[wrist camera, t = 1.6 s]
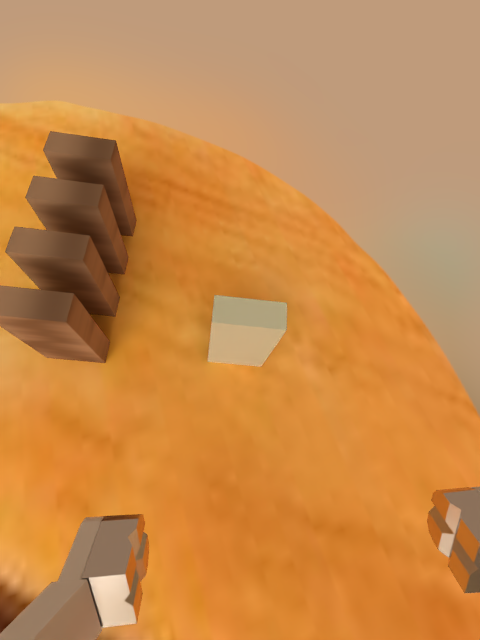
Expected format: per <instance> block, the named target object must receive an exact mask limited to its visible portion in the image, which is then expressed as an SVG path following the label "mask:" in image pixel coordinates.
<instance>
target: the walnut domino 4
mask: <svg viewBox="0 0 480 640" xmlns="http://www.w3.org/2000/svg"><path fill="white" fill-rule="evenodd" d="M0 326H1V327H2V328H4V329H5V330H7V331H8V332H10V333H11V334H13V335H14V336H16V337H17V338H18V339H20V340H21V341H23V342H24V343H26V344H27V345H29V346H30V347H32V348H33V349H35V350H36V351H38V352H39V353H41V354H42V355H44V356H45V357H47V358H56V359H67V360H78V361H89V362H100V363H105V362H106V357H107V353H108V348H109V343H110V341H109V340H108V338H107V337H106V336H105V334H104V333H103V332H102V330H101V329H100V328H99V326H98V325H97V324H96V322H95V321H94V320H93V318H92V317H91V316H90V314H89V313H88V312H87V310H86V309H85V308H84V306H83V305H82V304H81V302H80V301H79V300H78V298H77V297H76V295H75V294H74V293H65V292H56V291H46V290H37V289H28V288H18V287H9V286H0Z"/></svg>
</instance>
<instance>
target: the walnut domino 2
mask: <svg viewBox="0 0 480 640" xmlns="http://www.w3.org/2000/svg"><path fill="white" fill-rule="evenodd" d="M26 199H27V201H28V202H29V204H30V205H31V207H32V208H33V210H34V211H35V213H36V214H37V216H38V217H39V219H40V220H41V222H42V223H43V225H44V226H45V228H46V229H47V230H48V231H56V232H64V233H73V234H81V235H89V236H90V237H91V239H92V241H93V243H94V245H95V247H96V249H97V251H98V253H99V256H100V258H101V260H102V262H103V264H104V266H105V268H106V270H107V272H108V273H117V274H125V270H126V265H127V261H128V255H127V252H126V249H125V246H124V243H123V240H122V237H121V234H120V231H119V228H118V225H117V222H116V220H115V217H114V214H113V211H112V208H111V205H110V202H109V199H108V196H107V193H106V190H105V187H104V185H100V184H93V183H85V182H78V181H70V180H62V179H55V178H47V177H39V176H33V179H32V181H31V184H30V187H29V189H28V192H27V195H26Z"/></svg>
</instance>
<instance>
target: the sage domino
mask: <svg viewBox="0 0 480 640" xmlns="http://www.w3.org/2000/svg"><path fill="white" fill-rule="evenodd" d="M286 330H287V303H283V302H274V301H265V300H256V299H247V298H238V297H229V296H220V295H215V296H214V305H213V315H212V324H211V334H210V343H209V353H208V362H217V363H228V364H238V365H249V366H260V367H261V366H262V365H263V363H264V362H265V361H266V359H267V358H268V356H269V355H270V353H271V352H272V350H273V349H274V348H275V346H276V345H277V343H278V342H279V340H280V339H281V337H282V336H283V335H284V333H285V332H286Z"/></svg>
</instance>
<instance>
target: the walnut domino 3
mask: <svg viewBox="0 0 480 640" xmlns="http://www.w3.org/2000/svg"><path fill="white" fill-rule="evenodd" d="M5 252H6V253H7V254H8V255H9V256H10V257H11V258H12V259H13V260H14V261H15V263H16V264H17V265H18V266H19V267H20V268H21V269H22V270H23V271H24V272H25V273H26V274H27V275H28V277H29V278H30V279H31V280H32V281H33V282H34V283H35V284H36V285H37V286H38V287H39V288H40V289H41V290H46V291H56V292H65V293H74V294H75V295H76V297H77V298H78V300H79V301H80V302H81V304H82V305H83V306H84V308H85V309H86V310H87V312H88V313H89V314H97V315H107V316H116V311H117V307H118V302H119V298H120V297H119V295H118V293H117V291H116V289H115V287H114V285H113V282H112V280H111V278H110V276H109V274H108V272H107V270H106V268H105V266H104V264H103V262H102V260H101V258H100V256H99V253H98V251H97V249H96V247H95V245H94V243H93V241H92V239H91V237H90V236H89V235H81V234H73V233H64V232H56V231H48V230H39V229H31V228H23V227H14V229H13V232H12V235H11V237H10V240H9V243H8V245H7V248H6V251H5Z"/></svg>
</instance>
